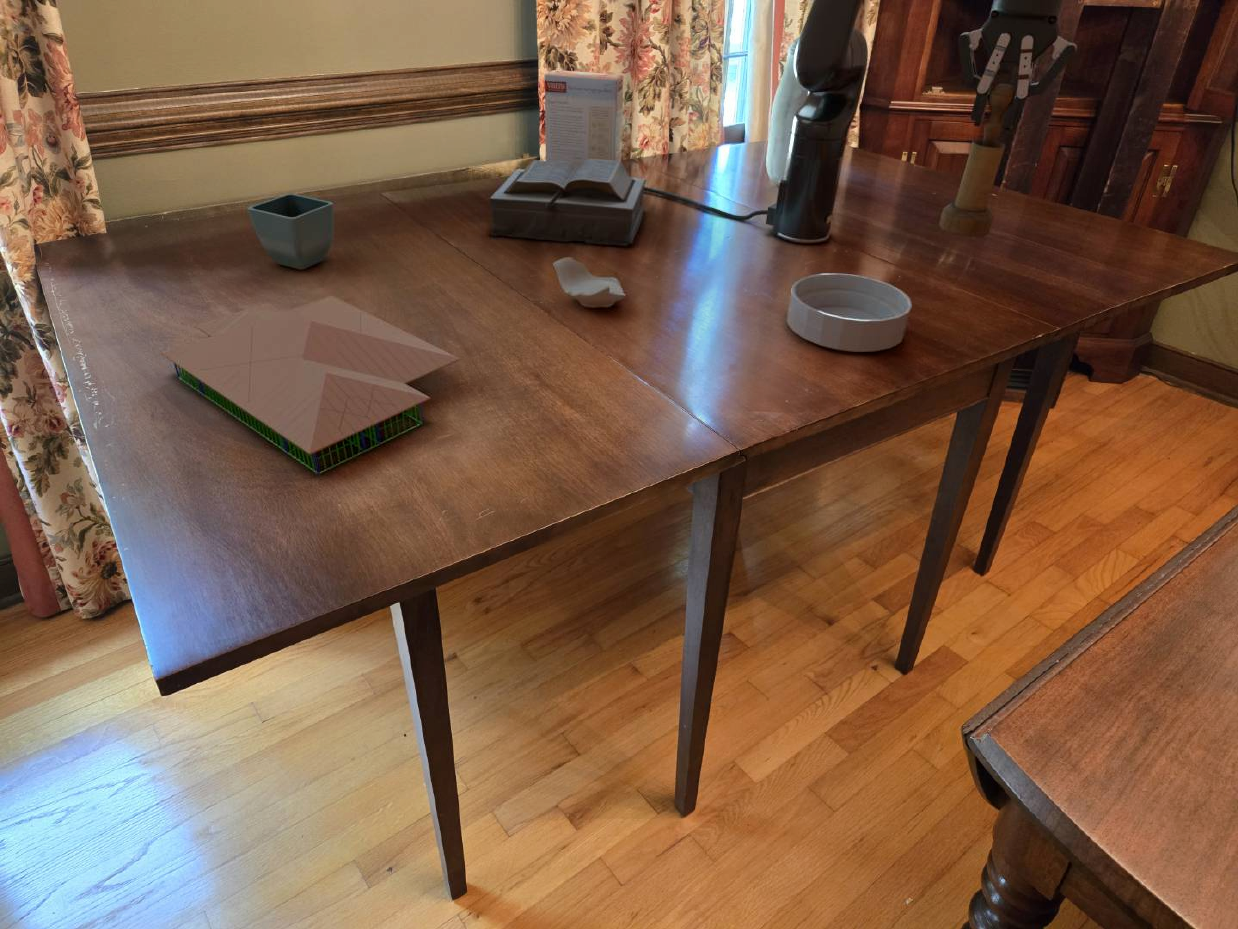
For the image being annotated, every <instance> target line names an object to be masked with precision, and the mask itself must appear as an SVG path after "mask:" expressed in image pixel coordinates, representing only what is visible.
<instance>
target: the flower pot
mask: <svg viewBox="0 0 1238 929" xmlns="http://www.w3.org/2000/svg"><path fill="white" fill-rule="evenodd" d="M247 211H248V214H249V217H250V219H251V222H252V225H253V228H254V231H255V233H256V236H257V239H258V241H259V243H260V244H261V246H262V248H263V249H264V251H265V252H266V253H267V255H268V256H269V257H270V258H271V259H272V260H273V261H274V262H275V263H276V264H278V265H282V266H285V267H288V268H292V269H296V270H301V271H302V270H306V269H308V268H310V267H312V266H314V265H316V264H319V263H321V262H323V261H324V260H325V259H326V258H327V255H328V253H329V252H330V249H331V247H332V244H333V243H332V242H333V238H334V203H333V202H332V201H328V200H324V199H318V198H314V197H309V196H305V195H300V194H296V193H285V194H283V195H280V196H277V197H274V198H272V199H269V200H266V201H263V202H260V203H256V204H254V205H252V206H249V207H247Z"/></svg>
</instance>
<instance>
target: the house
mask: <svg viewBox="0 0 1238 929" xmlns="http://www.w3.org/2000/svg"><path fill="white" fill-rule="evenodd" d="M193 328H195V329H197V330H199V331H200V332H201V333H203V334H205V335H206V337H201V338H200V339H197V340H194V341H191V342H187V343H185V344H181V345H179V346H176V347H172V348H169V349H167V350H163V351H161V352H160V355H162V356H163V357H165V358H166V359H167V360H169V361H170V362H172V363H173V365H174V368H175V369H174V370H175V372H176V375H177V378H178V379H179V380H181V381H182V382H184V383H186V384H187V385H188V386H190V387H191V388H193V389H194V390H196V391H197V392H198V393H199V394H201V395H202V396H204V397H205V398H207V399H208V400H210V401H211V402H213V403H214V404H216V405H217V406H219V408H222V409H223V410H225V411H226V412H227V413H229V414H230V415H231V416H232V417H234V418H236V419H238V420H239V421H240V422H242V423H243V424H245V425H246V426H247V427H249V428H250V429H252V430H253V431H255V432H256V433H258V434H259V435H261V436H262V437H264V438H265V439H266V440H267V441H269V442H271V443H272V444H273V445H274V446H276V447H278V448H279V449H281V450H282V451H283V452H285V453H287V454H288V455H289V456H291V457H292V458H294V459H295V460H297V461H298V462H300V463H301V464H303V465H304V466H305V467H307V468H308V469H310V470H311V471H313V472H314V473H315V474H317V475H319V474H322V473H324V472H326V471H328V470H330V469H332V468H335V467H336V466H338V465H340V464H342V463H344V462H346V461H348V460H351V459H353V458H355V457H356V456H359V455H360V454H361V455H362V454H363V453H365V452H367V451H369V450H372V449H374V448H376V447H378V446H380V445H381V444H384V443H387V441H390V440H391V439H394V438H396V437H398V436H400V435H402V434H405V433H406V432H408V431H410V430H412V429H415V428H417V427H419V426H420V425H422V424H423V416H422V406H421V404H423V403H426V402H427V401H429V400H431V397H430V396H429V395H426V394H424V393H423V392H421V391H419V390H417V389H416V388H414V387H411V386H410V385H408V384H409V383H412V382H414V381H415V380H418V379H421V378H422V377H425V376H427V375H430V374H432V373H433V372H436V371H438V370H441V369H443V368H445V367H448V366H450V365H452V364H455V363H457V362H459V361H461V358H459V357H457V356H455V354H452V353H450V352H447V351H446V350H444V349H442V348H439V347H437V346H435V345H434V344H431V343H429V342H427V341H425V340H424V339H422V338H419V337H418V336H415V335H414V334H411V333H409V332H407V331H405V330H402V328H399V327H397V326H394V325H393V324H391V323H388V322H387V321H384V320H383V319H380V318H378V317H376V316H374V315H372V314H370V313H369V312H366V311H364V310H362V309H360V308H358V307H356V306H354V305H352V304H350V303H348V302H346V301H344V300H342V299H340V298H338V297H336V296H334V295H329V296H326V297H323V298H320V299H317V300H314V301H311V302H308V303H305V304H302V305H299V306H296V307H292V308H290V309H287V310H284V311H283V310H281V309H280V308H278V307H276V306H274V305H272V304H270V303H268V302H264V303H261V304H259V305H255V306H251V307H249V308H246V309H243V310H240V311H236V312H233V313H230V314H227V315H223V316H220V317H217V318H214V319H211V320H209V321H205V322H202V323H199V324H195V325H194V327H193ZM417 406H418V407H417ZM412 408H414V412H413V409H412ZM240 411H241V412H240ZM244 413H245V414H244ZM417 413H419V420H418V414H417ZM399 414H401V415H402V418H400V419H398V415H399ZM405 415H406V416H405ZM413 415H414V416H415V418H414V417H413ZM238 416H239V417H238ZM394 416H395V419H396V420H394V421H392V418H393V417H394ZM248 417H249V418H248ZM406 418H408V419H409V426H410V428H408V429H406V425H405V419H406ZM245 419H246V420H245ZM252 419H253V420H252ZM388 419H389V424H387V425H386V423H385V421H386V420H388ZM411 420H414V421H415V424H416V425H414V426H412V421H411ZM399 421H402V422H403V430H404V431H402V432H400V427H399ZM256 422H257V423H256ZM382 422H383V426H382V427H381V428H380V427H379V424H380V423H382ZM395 423H396V426H397V434H396V435H394V431H393V424H395ZM250 424H251V425H250ZM257 426H258V427H257ZM387 427H390V431H391V437H389V438H388V435H387V430H386V429H387ZM371 428H372V429H371ZM367 429H368V430H367ZM382 429H384V435H385V440H382V441H381V434H380V430H382ZM258 430H259V431H258ZM364 430H365V433H364ZM265 431H266V432H265ZM269 432H270V433H269ZM273 433H274V435H273ZM359 433H360V434H359ZM266 434H267V435H266ZM270 436H271V437H270ZM277 436H278V438H277ZM351 437H352V438H353V441H352V438H351ZM366 437H367V438H369V440H370V447H368V448H367V447H366V440H365V438H366ZM274 438H275V440H274ZM278 440H279V442H278ZM345 440H346V441H347V442H348V443H346V444H345V442H344V441H345ZM360 440H361V442H360ZM341 441H342V444H343V445H342V446H341V447H338V443H339V442H341ZM373 442H374V445H373ZM287 443H288V444H287ZM356 443H357V444H356ZM279 444H280V445H279ZM334 444H335V448H336V449H334V450H332V451H331V447H330V446H333V445H334ZM361 444H362V447H361ZM291 445H292V446H291ZM349 445H350V450H351V455H352V456H350V457H348V458H347V453H346V448H345V447H346V446H349ZM353 445H354V446H355V447H357V450H358V453H356V454H355V455H354V451H353ZM288 448H289V449H288ZM326 448H328V453H325V454H324V451H323V450H324V449H326ZM296 449H297V452H296ZM341 449H343V451H344V452H343V453H344V457H345V459H343V460H342V461H340V454H339V450H341ZM300 451H301V454H300ZM320 451H321V455H320V456H319V457H317V455H316V453H317V452H320ZM335 451H336V454H337V459H338V463H336V464H334V463H333V458H332V453H333V452H335ZM293 453H294V455H293ZM297 454H298V457H297ZM304 454H305V455H306V457H305V455H304ZM301 455H302V457H301ZM328 455H330V457H329V458H330V463H331V466H330V467H327V465H326V461H325V457H326V456H328ZM309 457H310V459H309ZM305 458H306V459H305ZM321 458H322V460H323V465H324V469H323V470H321V471H320V470H319V466H318V464H319V463H318V460H319V459H321ZM302 460H303V461H302ZM306 460H307V463H306ZM310 460H311V463H310ZM311 464H312V467H311Z"/></svg>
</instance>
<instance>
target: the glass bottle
mask: <svg viewBox="0 0 1238 929" xmlns="http://www.w3.org/2000/svg"><path fill="white" fill-rule="evenodd" d="M799 38H800V36H798V37H797V38H796V39H794V41H792V43H791V44H790V46H789V49H788V51H787V57H786V62H785V65H784V69H783V72H782V76H781V79H780V82H779V84H778V86H777V89H776V92H775V95H774V98H773V102H772V108H771V116H770V123H769V132H768V133H769V134H768V139H767V148H766V157H765V166H766V171H767V175H768V177H769V179H770V181H771V182H772V183H773V184H775V185H777V186H779V183H780V180H781V179H782V178H784V174H785V168H786V161H787V154H788V148H789V141H790V134H791V127H792V121H793V117H794V115H795V113H796V112H797V111H798V109H799V108H800V107H801V106H802V104H803V103H804V101H805V99H806V97H807V94H808V91H806V90H805V89H803V88H802V87H801V86H800V85H799V83H798V81H797V80H796V77H795V74H794V67H793V62H794V54H795V49H796V46H797V43H798V40H799Z"/></svg>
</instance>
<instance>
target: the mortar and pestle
mask: <svg viewBox="0 0 1238 929" xmlns="http://www.w3.org/2000/svg"><path fill="white" fill-rule="evenodd" d="M989 92H990V93H989V96H988V106H989V110H990V115H989V117H988V119H987V120H986V121H985V122H984V124H983V138H978V139H973V140H972V142H971V146H970V149H969V152H968V153H969V154H968V157H967V161H966V164H965V167H964V171H963V175H962V178H961V182H960V185H959V188H958V192H957V196H956V198H955V201H953V202H951V203H949V204H948V205H945V206H944V207H943V209H942V212H941V216H940V220H939V227H940V228H941V229H942V230H944V231H946V232H947V233H950V234H953V235H956V236H962V237H969V238H981V237H985V236H988V235H989V233H990V231H991V228H992V225H993V222H994V217H995V216H994V214H993V213H992V211H991V209H990V208H989V207H988V203H989V199H990V197H991V193H992V189H993V186H994V183H995V180H996V178H997V177H996V176H997V174H998V170H999V168H1000V164H1001V160H1002V158H1003V155H1004V152H1005V149H1006V145H1005V144H1004V143H1003V142H999V141H997V139H998V138H999V136H1000V134H1001V132H1002V130H1003V129H1004V127H1005V124H1004V123H1003V120H1002V118H1003V117H1004V114H1005V113H1006V111H1007V110H1008V109H1009V108H1011V106H1012V102H1013V99H1014V97H1015V96H1016V90H1015V87H1014V86H1013V85H1011V84H1009V83H998V84H996V85H995V86H993V87H992V88H991V89H990V90H989Z"/></svg>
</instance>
